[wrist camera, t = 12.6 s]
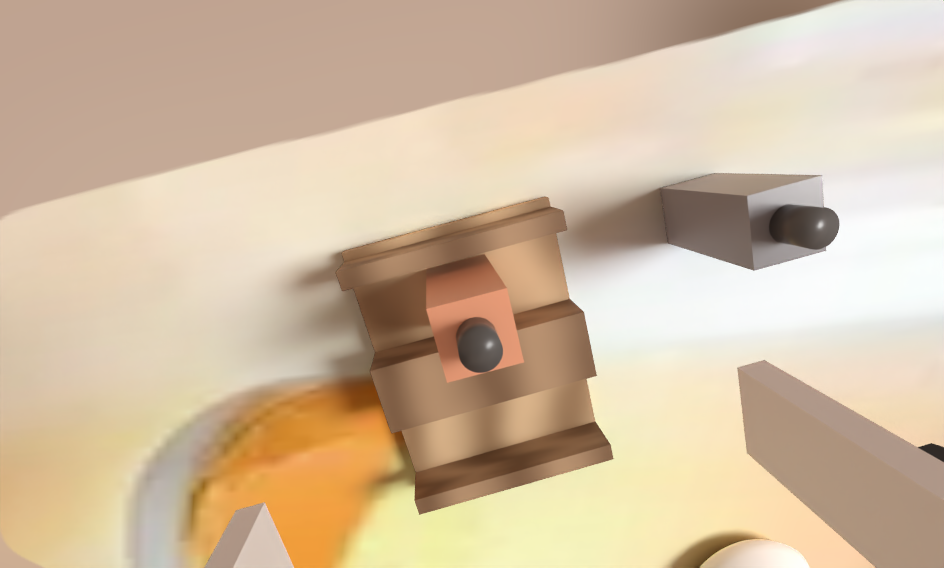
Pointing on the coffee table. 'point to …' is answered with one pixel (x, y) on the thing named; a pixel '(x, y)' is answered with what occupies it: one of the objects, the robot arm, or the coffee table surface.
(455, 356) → the terracotta plug
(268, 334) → the coffee table surface
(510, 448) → the wooden ridged block
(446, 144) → the coffee table surface
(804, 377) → the coffee table surface
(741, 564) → the flower in vase
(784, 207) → the charcoal plug
